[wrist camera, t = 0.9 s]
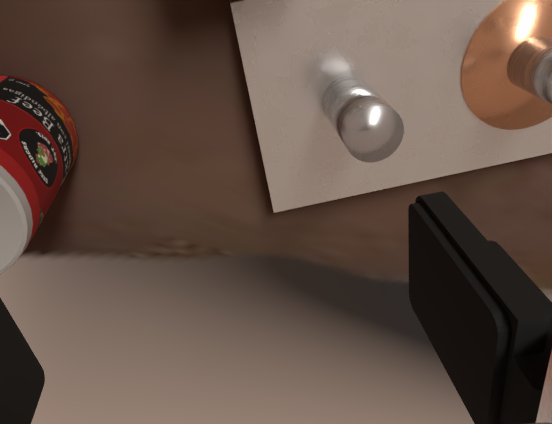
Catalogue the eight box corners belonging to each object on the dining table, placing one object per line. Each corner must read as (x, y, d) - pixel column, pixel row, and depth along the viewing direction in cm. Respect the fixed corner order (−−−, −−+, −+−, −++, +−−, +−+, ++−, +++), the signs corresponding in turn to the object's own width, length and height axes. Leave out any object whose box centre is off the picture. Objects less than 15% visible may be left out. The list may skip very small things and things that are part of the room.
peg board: (229, -1, 29) (235, 20, 22) (623, -82, 29) (742, -85, 23) (271, 202, 36) (285, 262, 29) (587, 134, 36) (669, 179, 30)
